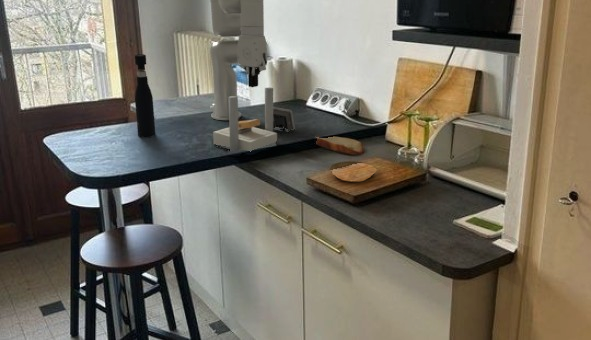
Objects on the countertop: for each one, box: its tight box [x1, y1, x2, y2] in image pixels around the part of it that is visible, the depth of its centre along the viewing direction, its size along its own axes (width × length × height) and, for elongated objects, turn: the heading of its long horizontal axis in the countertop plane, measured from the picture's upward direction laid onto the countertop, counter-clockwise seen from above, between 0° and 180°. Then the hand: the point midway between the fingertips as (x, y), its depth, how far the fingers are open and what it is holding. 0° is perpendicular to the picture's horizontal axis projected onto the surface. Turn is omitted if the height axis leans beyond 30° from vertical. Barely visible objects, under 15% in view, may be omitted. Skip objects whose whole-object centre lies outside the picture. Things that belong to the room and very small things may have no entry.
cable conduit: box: [228, 96, 239, 151], centre depth 193 cm, size 5×5×20 cm
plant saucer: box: [328, 160, 364, 171], centre depth 178 cm, size 15×15×3 cm
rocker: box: [238, 118, 261, 129], centre depth 202 cm, size 10×5×2 cm, turn 51°
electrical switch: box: [273, 106, 296, 131], centre depth 221 cm, size 9×5×9 cm, turn 57°
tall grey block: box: [264, 86, 274, 132], centre depth 206 cm, size 5×5×20 cm
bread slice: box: [315, 135, 365, 156], centre depth 205 cm, size 18×18×4 cm
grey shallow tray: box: [212, 126, 278, 152], centre depth 204 cm, size 18×14×6 cm
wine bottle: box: [134, 53, 156, 138], centre depth 210 cm, size 6×6×30 cm
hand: (253, 86), depth 194 cm, fingers closed
